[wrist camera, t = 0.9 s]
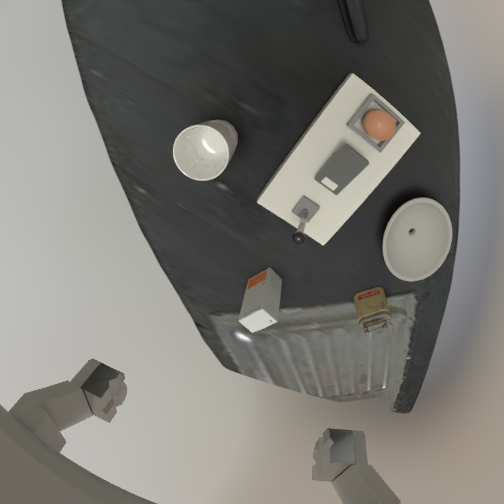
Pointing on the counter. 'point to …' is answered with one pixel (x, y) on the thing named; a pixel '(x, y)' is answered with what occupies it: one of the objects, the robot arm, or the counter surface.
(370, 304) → the lighter
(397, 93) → the counter surface
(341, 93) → the switch panel
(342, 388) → the counter surface
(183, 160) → the white cup
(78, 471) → the robot arm
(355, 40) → the can opener
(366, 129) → the push button
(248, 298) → the skincare box
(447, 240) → the dish
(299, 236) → the toggle lever
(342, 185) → the block
